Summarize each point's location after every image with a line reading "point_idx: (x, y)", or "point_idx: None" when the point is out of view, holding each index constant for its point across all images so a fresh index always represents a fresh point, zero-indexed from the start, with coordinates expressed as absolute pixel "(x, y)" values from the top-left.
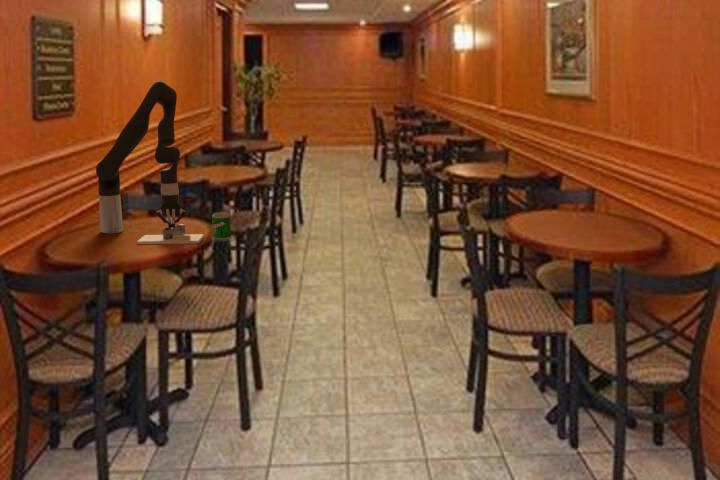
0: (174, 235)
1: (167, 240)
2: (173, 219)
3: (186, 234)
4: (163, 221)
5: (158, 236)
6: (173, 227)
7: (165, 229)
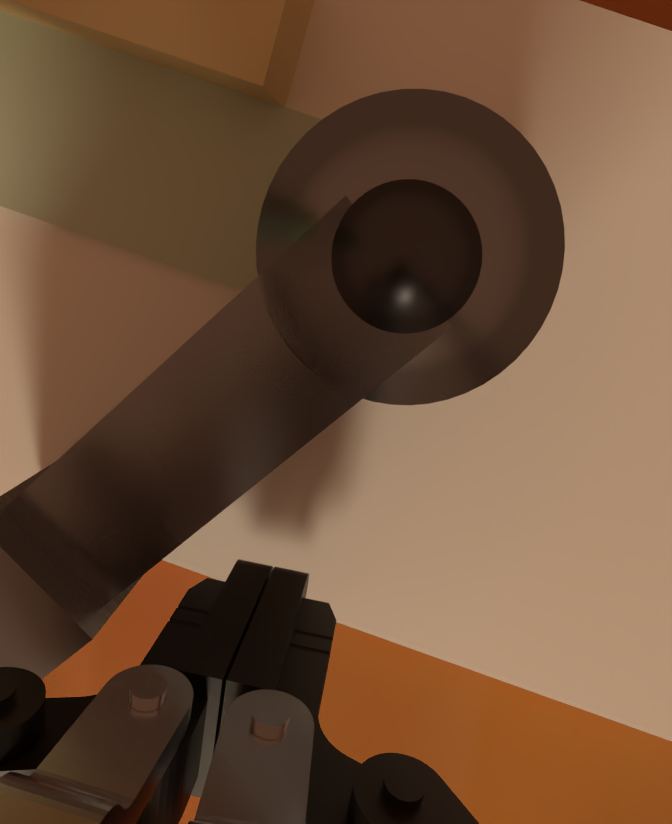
0: (246, 56)
1: (443, 38)
2: (86, 779)
3: None
4: (461, 809)
5: (560, 548)
6: (200, 496)
7: (470, 219)
